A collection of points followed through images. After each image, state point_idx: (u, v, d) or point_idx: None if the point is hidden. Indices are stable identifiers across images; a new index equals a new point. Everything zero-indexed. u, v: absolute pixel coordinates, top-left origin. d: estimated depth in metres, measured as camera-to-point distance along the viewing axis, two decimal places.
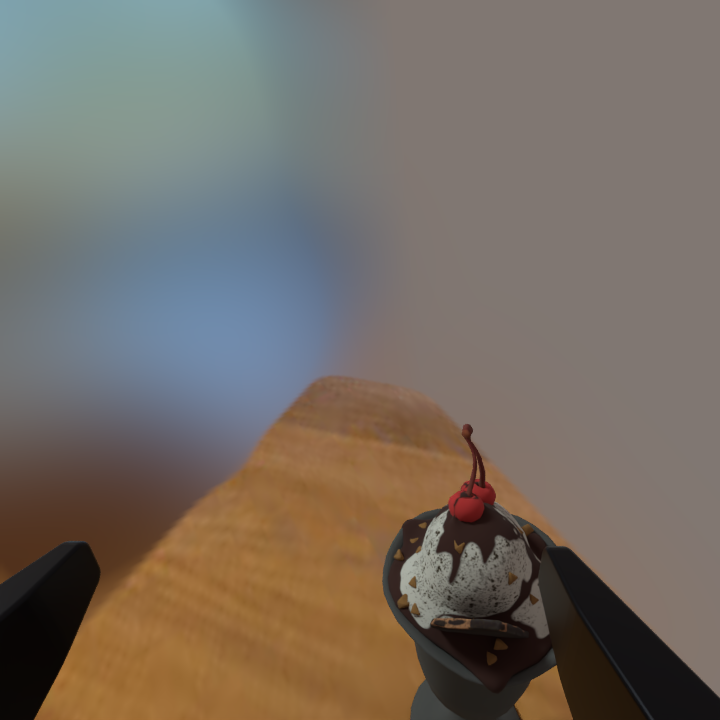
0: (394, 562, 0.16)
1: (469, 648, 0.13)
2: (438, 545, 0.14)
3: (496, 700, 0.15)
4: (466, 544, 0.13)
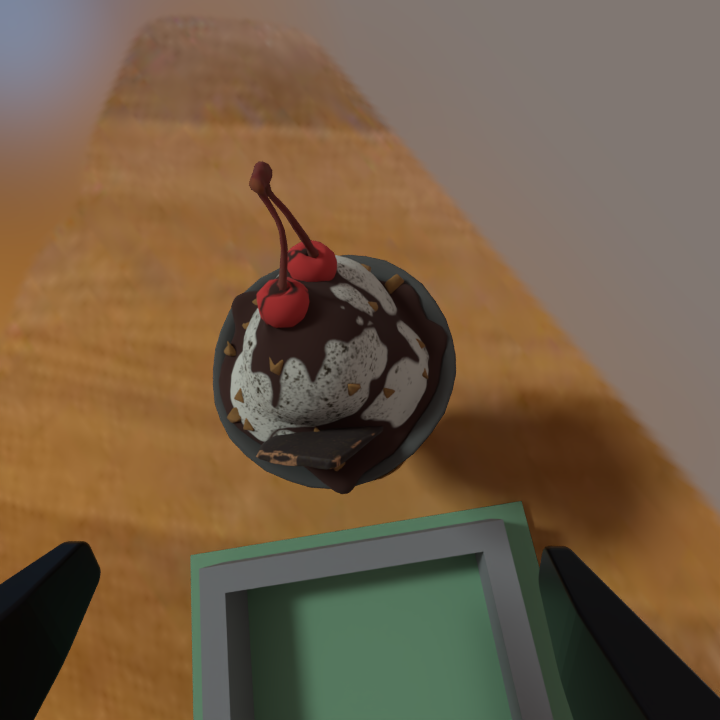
0: (225, 359, 0.12)
1: None
2: (252, 362, 0.10)
3: None
4: (285, 362, 0.09)
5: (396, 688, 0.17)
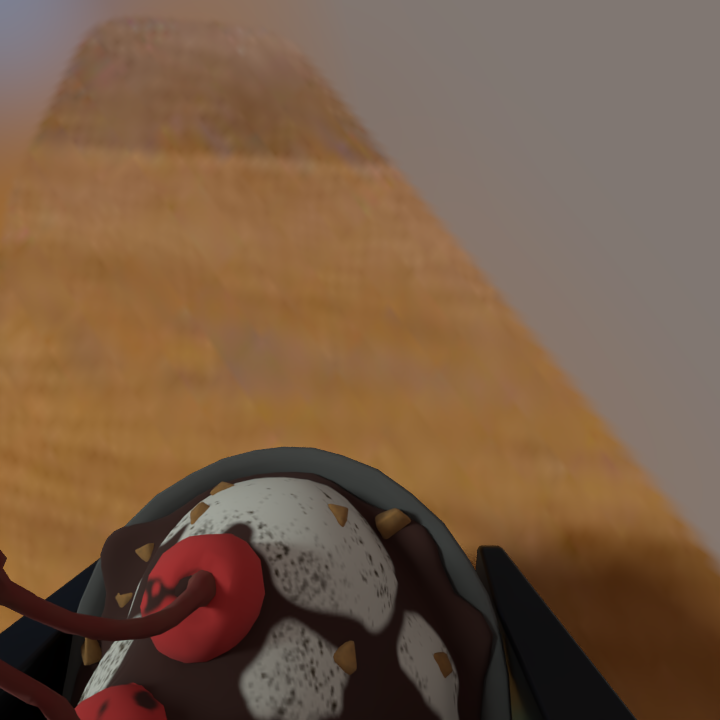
0: (82, 665, 0.07)
1: None
2: None
3: None
4: None
5: None
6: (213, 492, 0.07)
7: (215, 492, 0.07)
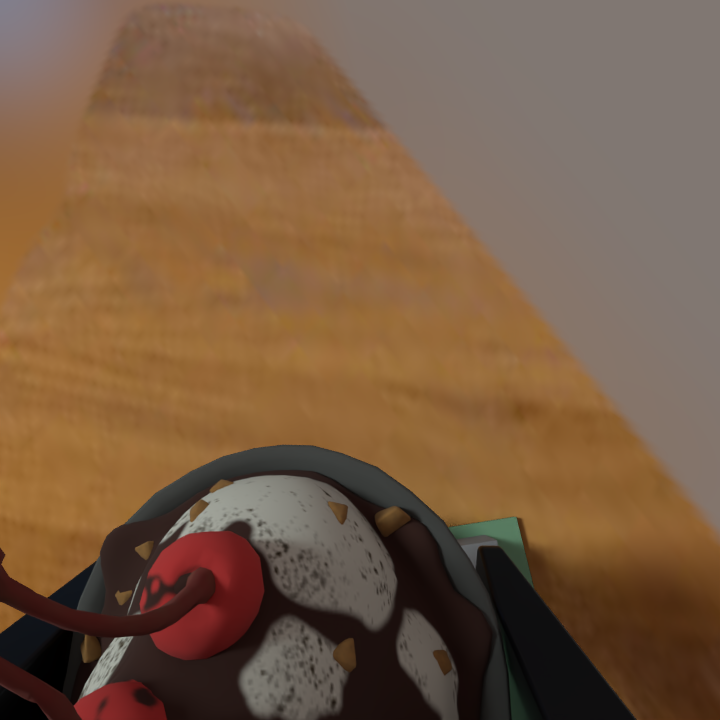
0: (82, 662, 0.07)
1: None
2: None
3: None
4: None
5: None
6: (213, 490, 0.07)
7: (215, 490, 0.07)
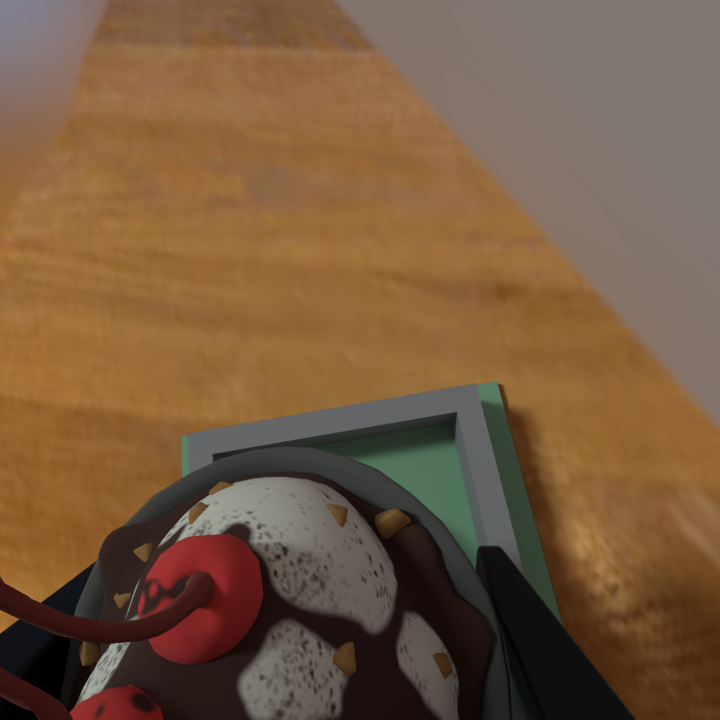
0: (80, 665, 0.07)
1: None
2: None
3: None
4: None
5: None
6: (212, 492, 0.07)
7: (214, 492, 0.07)
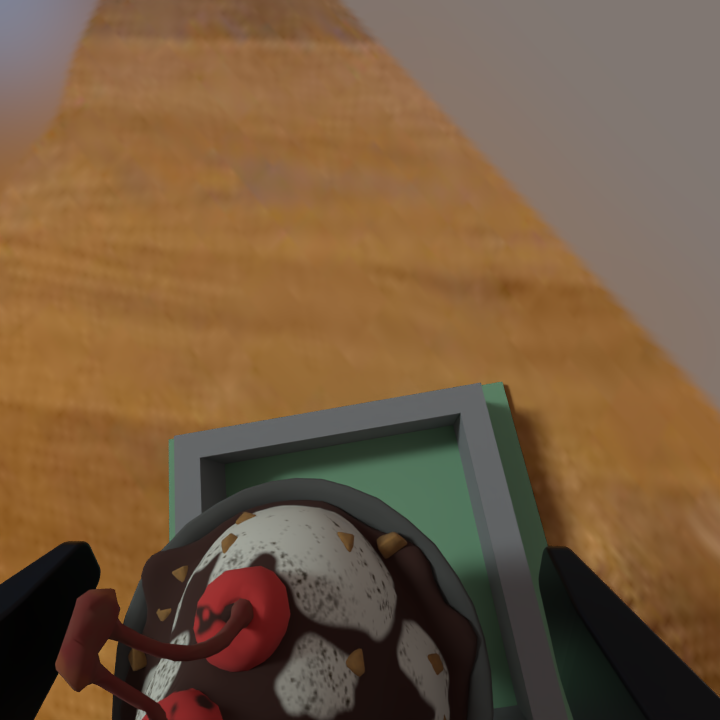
0: (130, 670, 0.08)
1: None
2: None
3: None
4: None
5: None
6: (238, 522, 0.08)
7: (240, 522, 0.08)
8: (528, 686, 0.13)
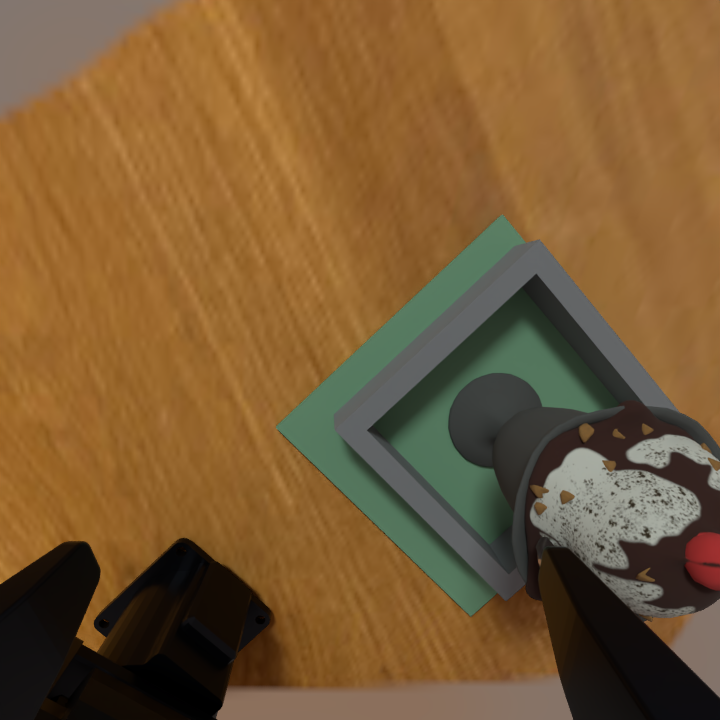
0: (573, 434, 0.12)
1: None
2: (629, 543, 0.10)
3: None
4: (654, 583, 0.10)
5: None
6: (706, 449, 0.11)
7: (706, 450, 0.11)
8: None
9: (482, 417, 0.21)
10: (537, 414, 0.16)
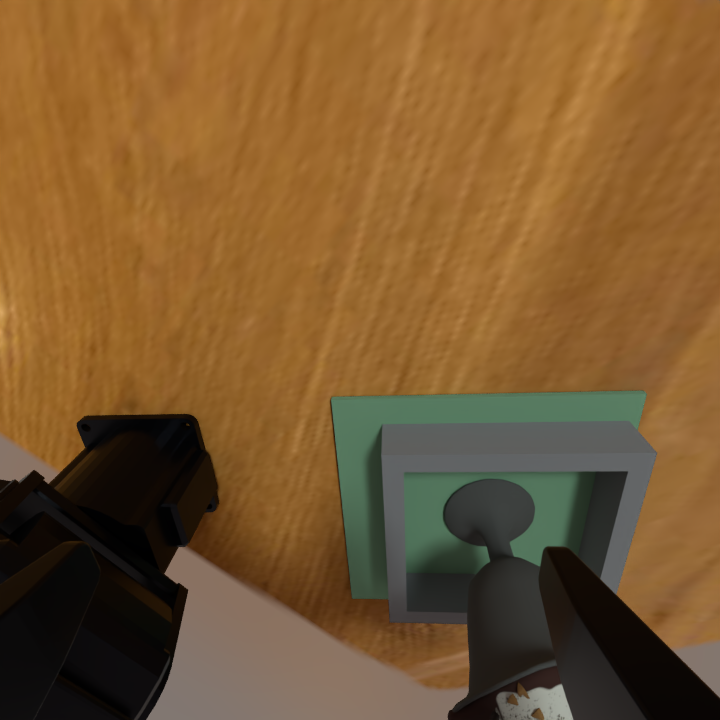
0: None
1: (477, 718, 0.15)
2: None
3: (468, 641, 0.18)
4: None
5: None
6: None
7: None
8: (430, 612, 0.25)
9: (484, 510, 0.23)
10: None
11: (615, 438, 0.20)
